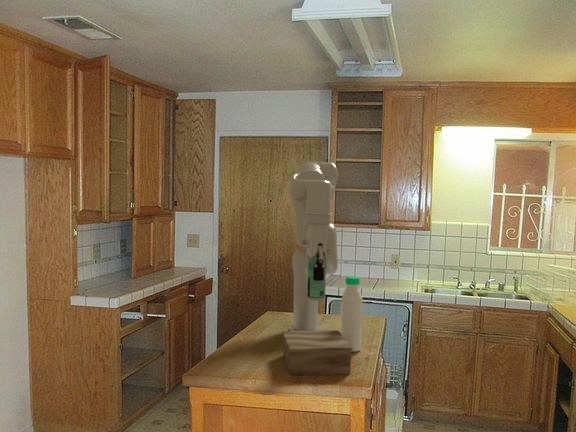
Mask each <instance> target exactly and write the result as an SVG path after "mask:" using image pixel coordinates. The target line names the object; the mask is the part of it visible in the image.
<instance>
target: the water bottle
mask: <svg viewBox="0 0 576 432" xmlns="http://www.w3.org/2000/svg"><path fill="white" fill-rule="evenodd" d="M360 280H361V279H360V278H359V277H358V276H351V275H350V276H346V278H345V286H346V288H345V290H344V292H343V294H342V296H341V301H342V302H341V329H340V331H341V332H340V333H341V334H342V336H343V337H344V338H345V339H346V340H347V342H348V343H349V344H350V345H351V347H352V350H351V353H355V352H359V351H361V349H362V331H363V330H362V323H363V296H362V293H361V291H360V289H359V285H360V282H361V281H360Z"/></svg>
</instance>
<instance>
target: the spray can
mask: <svg viewBox="0 0 576 432" xmlns="http://www.w3.org/2000/svg"><path fill="white" fill-rule="evenodd" d="M308 248H309V247H308ZM323 254H324V255H325V253H324V252H323ZM316 257H319V255H316ZM313 267H315V266H314V256H313V258H311V257H309V256H308V299H309V300H315V301H318V302H319V301H325V300H326V279H327V278H326V277H327V276H326V275H327V274H326V257H325V258H324V280H323V281H314V280H313Z"/></svg>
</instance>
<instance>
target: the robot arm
mask: <svg viewBox="0 0 576 432" xmlns="http://www.w3.org/2000/svg"><path fill="white" fill-rule="evenodd" d="M338 172H339V171H338V168H337V166H336V164H335V163H333V162H330V161H329V162H328V161H308V162H303V164H301V165H300V167H299V169H298V173H294V174H293V175H292V176H291V177H290V180H289V184H288V194H289V195H288V196H289V199H290V201H291V203H292V206H293V208H294V212H295V239H296V240H295V241H296V243H297V244H298V246H301V247H306V249H299V250H296V251H294V253H293V254H292V259H291V262H292V263H291V264H292V271H293V324H291V325H290V326H289V328H288V331H323V329H322V327H321V326H320V325H319V301H315V300H309V299H308V256H309V257H311V258H313V256H314V266H315V267H313V280H314V281H323V280H324V258H325V257H326V275H334V274H335V273H336V272H337V270H338V265H339V263H338V259H339V258H338V237H337V236H338V235H337V229H336V226H335V224H333V223H331V201H332V199H333V198H334V194H335V190H336V186H337V183H338V177H339V173H338ZM308 247H309V248H308ZM323 252H324V253H325V255H324V254H323ZM316 255H319V257H316Z"/></svg>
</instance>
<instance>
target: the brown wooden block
mask: <svg viewBox="0 0 576 432" xmlns="http://www.w3.org/2000/svg"><path fill="white" fill-rule="evenodd" d="M282 337H283V351H282V352H283V353H282V355H283V358H284V362H285V364H286V367H287V369H288V372H289V375H290V376H312V375H313V376H314V375H315V376H316V375H346V374H347V375H350V374H351V362H352V361H351V359H352V352H351V350H352V347H351V345H350V344H349V343H348V342H347V340H346V339H345V338H344V337H343V336H342V334H341V332H340V330H337V329H335V330H331V329H330V330H328V329H327V330H322V331H290V330H283V331H282Z"/></svg>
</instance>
